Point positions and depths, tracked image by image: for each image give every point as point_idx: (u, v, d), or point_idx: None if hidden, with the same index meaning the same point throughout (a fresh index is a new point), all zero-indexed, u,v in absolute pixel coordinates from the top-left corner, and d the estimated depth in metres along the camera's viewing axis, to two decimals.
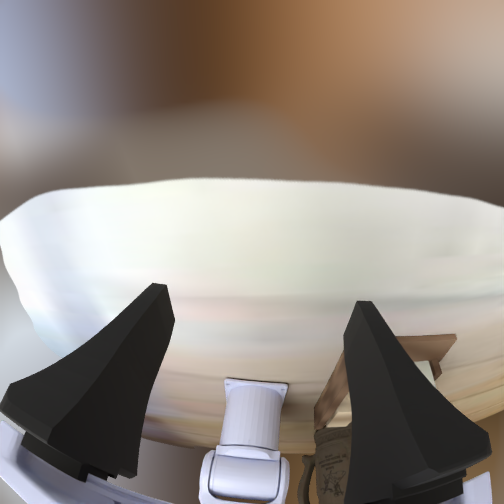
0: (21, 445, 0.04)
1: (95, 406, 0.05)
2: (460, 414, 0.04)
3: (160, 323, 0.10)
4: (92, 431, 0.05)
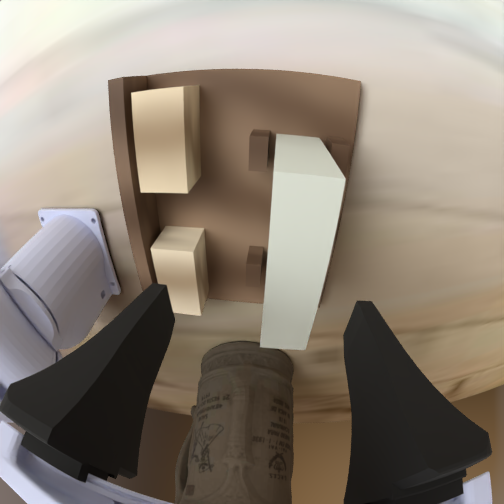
0: (21, 445, 0.04)
1: (95, 406, 0.05)
2: (460, 414, 0.04)
3: (160, 323, 0.10)
4: (92, 431, 0.05)
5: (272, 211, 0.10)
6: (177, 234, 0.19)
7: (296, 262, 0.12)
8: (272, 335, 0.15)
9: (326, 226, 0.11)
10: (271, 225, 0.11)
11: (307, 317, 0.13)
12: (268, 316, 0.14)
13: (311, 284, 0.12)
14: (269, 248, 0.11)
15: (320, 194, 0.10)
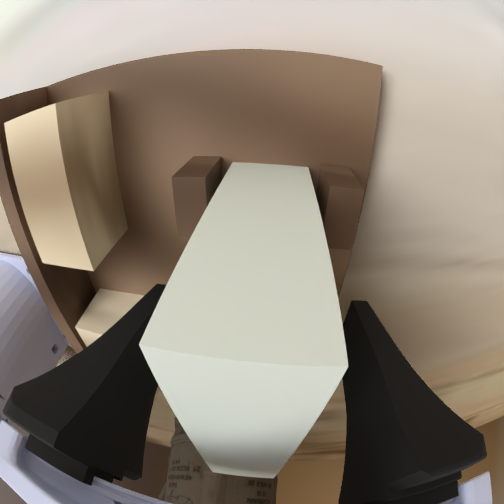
0: (21, 445, 0.04)
1: (101, 408, 0.05)
2: (455, 416, 0.04)
3: None
4: (98, 434, 0.05)
5: (168, 397, 0.04)
6: (110, 305, 0.13)
7: (239, 443, 0.05)
8: (225, 470, 0.08)
9: (291, 422, 0.04)
10: (175, 411, 0.04)
11: (270, 468, 0.07)
12: (213, 462, 0.07)
13: (270, 455, 0.06)
14: (185, 428, 0.05)
15: (275, 391, 0.03)
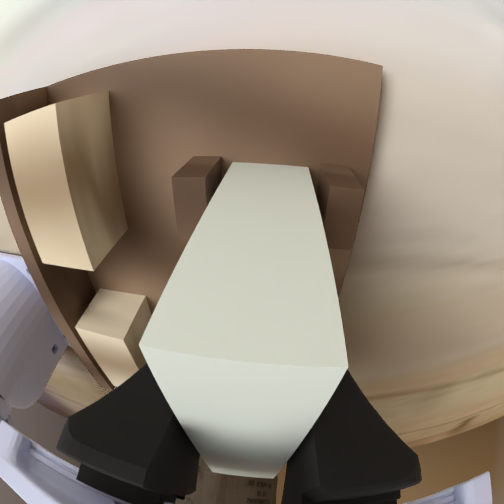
0: (21, 445, 0.04)
1: (176, 430, 0.05)
2: (386, 429, 0.05)
3: None
4: (173, 458, 0.05)
5: (168, 398, 0.04)
6: (110, 305, 0.13)
7: (239, 443, 0.05)
8: (225, 470, 0.08)
9: (291, 423, 0.04)
10: (175, 411, 0.04)
11: (270, 468, 0.07)
12: (213, 462, 0.07)
13: (270, 455, 0.06)
14: (185, 428, 0.05)
15: (274, 391, 0.03)
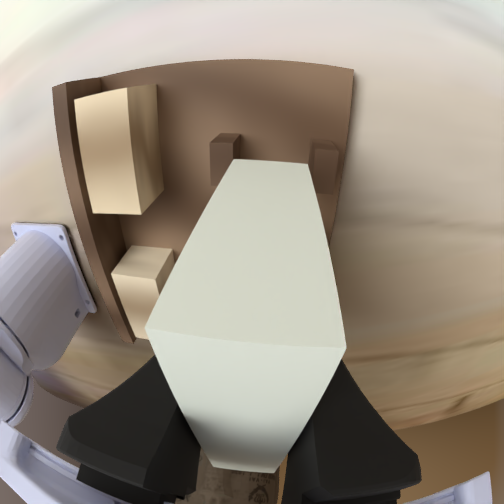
0: (21, 445, 0.04)
1: (176, 430, 0.05)
2: (386, 429, 0.05)
3: None
4: (173, 458, 0.05)
5: (171, 384, 0.04)
6: (142, 256, 0.16)
7: (240, 433, 0.06)
8: (226, 464, 0.08)
9: (292, 409, 0.04)
10: (178, 398, 0.05)
11: (270, 461, 0.07)
12: (214, 456, 0.08)
13: (271, 447, 0.06)
14: (187, 417, 0.05)
15: (276, 373, 0.04)
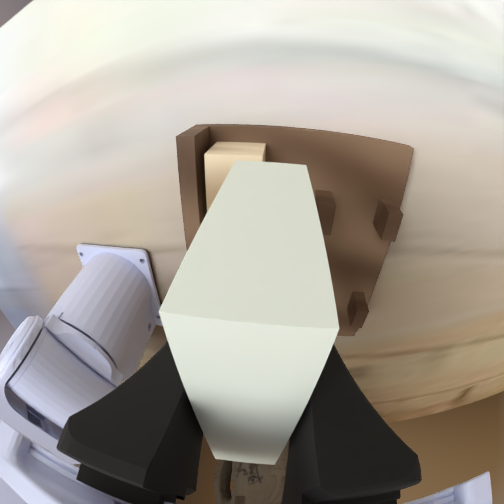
0: (21, 445, 0.04)
1: (176, 430, 0.05)
2: (386, 429, 0.05)
3: None
4: (173, 458, 0.05)
5: (180, 368, 0.05)
6: None
7: (243, 418, 0.06)
8: (227, 455, 0.09)
9: (291, 391, 0.05)
10: (185, 383, 0.05)
11: (271, 450, 0.08)
12: (216, 446, 0.08)
13: (271, 434, 0.07)
14: (192, 403, 0.06)
15: (276, 354, 0.04)
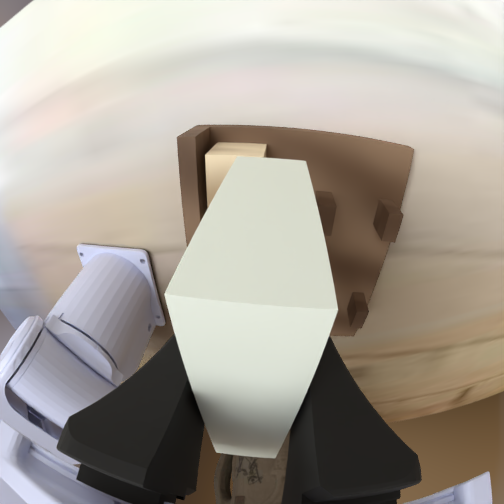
0: (21, 445, 0.04)
1: (176, 430, 0.05)
2: (386, 429, 0.05)
3: None
4: (173, 458, 0.05)
5: (183, 353, 0.05)
6: None
7: (244, 407, 0.06)
8: (228, 448, 0.09)
9: (292, 377, 0.05)
10: (188, 369, 0.05)
11: (272, 442, 0.08)
12: (217, 438, 0.08)
13: (272, 424, 0.07)
14: (194, 391, 0.06)
15: (277, 336, 0.04)
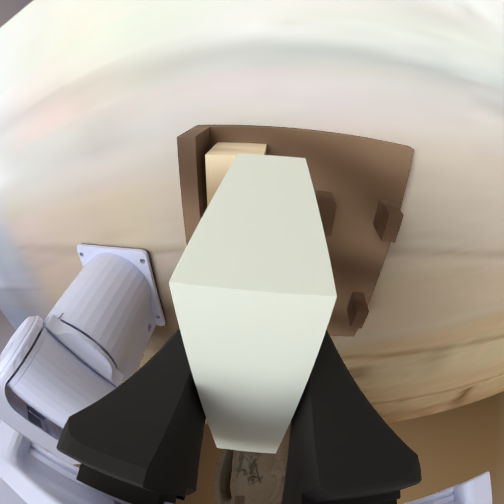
0: (21, 445, 0.04)
1: (176, 430, 0.05)
2: (386, 429, 0.05)
3: None
4: (173, 458, 0.05)
5: (186, 342, 0.05)
6: None
7: (245, 398, 0.06)
8: (229, 443, 0.09)
9: (293, 366, 0.05)
10: (190, 359, 0.05)
11: (272, 436, 0.08)
12: (218, 432, 0.08)
13: (273, 416, 0.07)
14: (196, 382, 0.06)
15: (278, 324, 0.05)
